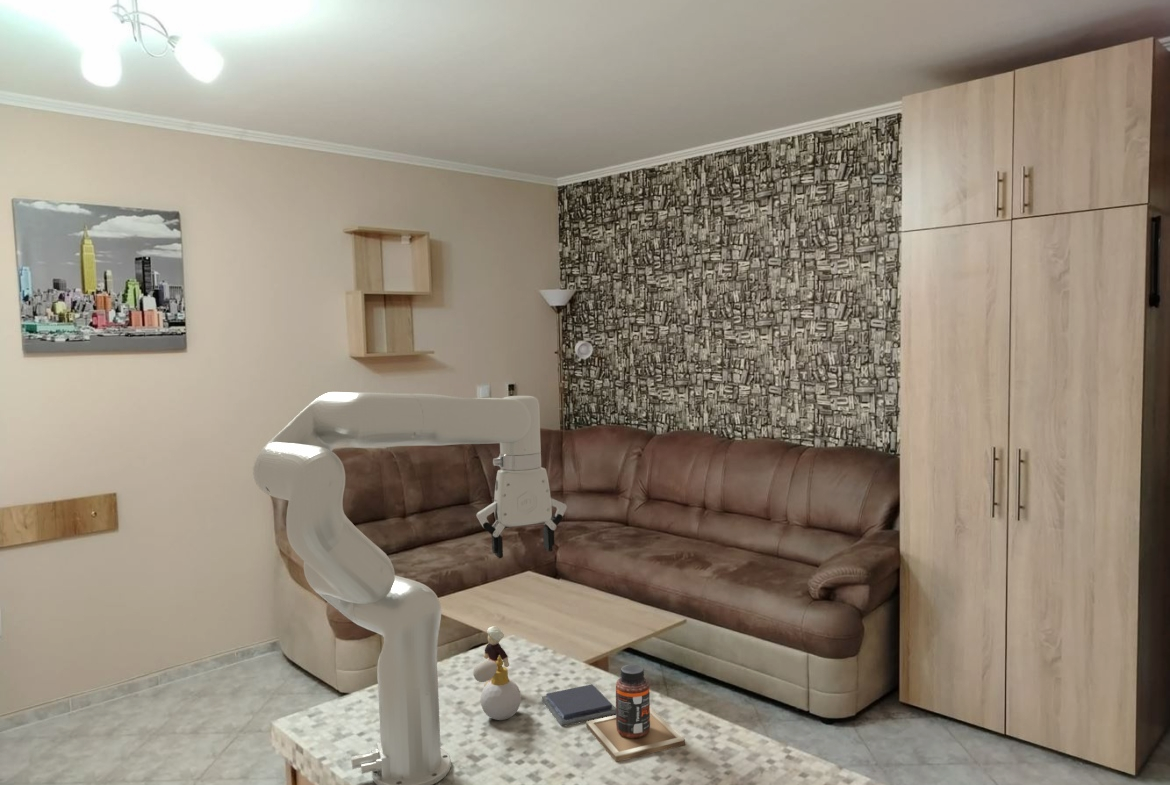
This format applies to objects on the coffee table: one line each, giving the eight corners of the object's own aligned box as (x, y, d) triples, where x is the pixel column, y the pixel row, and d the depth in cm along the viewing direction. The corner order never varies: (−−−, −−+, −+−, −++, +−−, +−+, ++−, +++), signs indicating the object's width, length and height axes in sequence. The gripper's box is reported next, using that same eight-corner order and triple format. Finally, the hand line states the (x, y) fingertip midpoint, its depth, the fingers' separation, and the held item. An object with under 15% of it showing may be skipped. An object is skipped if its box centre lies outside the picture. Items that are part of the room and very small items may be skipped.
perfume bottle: (526, 708, 149) (524, 647, 148) (511, 733, 140) (509, 668, 139) (488, 705, 151) (486, 645, 150) (471, 730, 141) (469, 666, 140)
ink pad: (561, 726, 142) (561, 717, 142) (541, 701, 152) (541, 692, 152) (617, 714, 146) (616, 705, 146) (594, 690, 156) (593, 682, 156)
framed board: (616, 761, 129) (615, 756, 129) (586, 726, 141) (586, 721, 141) (685, 744, 134) (685, 739, 134) (650, 712, 146) (650, 707, 146)
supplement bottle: (648, 741, 134) (646, 676, 134) (613, 738, 135) (612, 674, 135) (652, 724, 140) (651, 662, 139) (619, 722, 141) (617, 660, 141)
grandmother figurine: (475, 687, 159) (473, 626, 158) (488, 680, 162) (486, 620, 161) (504, 696, 155) (502, 633, 154) (517, 689, 158) (515, 627, 157)
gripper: (480, 469, 139) (483, 564, 140) (571, 461, 145) (574, 552, 146) (470, 463, 146) (473, 554, 147) (557, 456, 152) (560, 543, 153)
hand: (523, 553), depth 146 cm, fingers open, 9 cm apart
